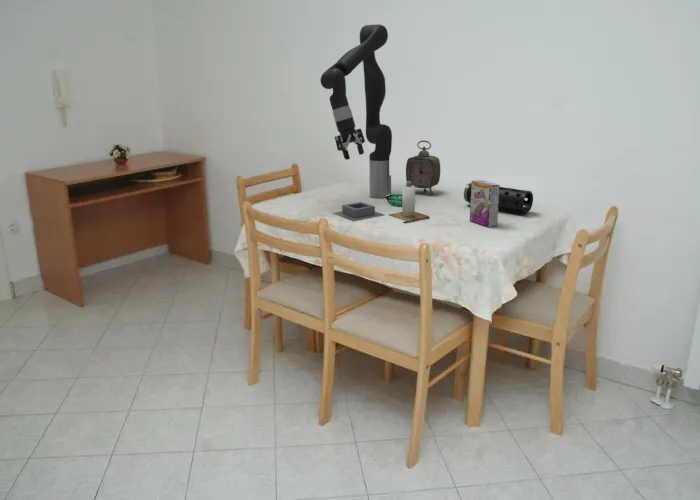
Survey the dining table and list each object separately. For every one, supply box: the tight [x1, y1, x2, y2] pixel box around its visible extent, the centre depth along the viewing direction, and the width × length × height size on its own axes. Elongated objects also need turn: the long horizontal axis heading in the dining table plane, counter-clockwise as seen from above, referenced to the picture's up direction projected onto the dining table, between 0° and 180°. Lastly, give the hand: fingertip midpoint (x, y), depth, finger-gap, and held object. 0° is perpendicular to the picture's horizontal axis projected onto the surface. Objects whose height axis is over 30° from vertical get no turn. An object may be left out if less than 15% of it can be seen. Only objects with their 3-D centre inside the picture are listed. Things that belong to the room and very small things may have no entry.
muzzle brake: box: [463, 182, 534, 216], centre depth 248 cm, size 10×28×10 cm, turn 47°
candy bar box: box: [469, 179, 501, 228], centre depth 228 cm, size 11×5×16 cm, turn 29°
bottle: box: [401, 180, 416, 217], centre depth 238 cm, size 5×5×14 cm
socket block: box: [332, 201, 385, 222], centre depth 243 cm, size 16×16×4 cm
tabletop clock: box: [405, 140, 441, 197], centre depth 277 cm, size 14×9×25 cm, turn 58°
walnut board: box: [388, 211, 430, 224], centre depth 240 cm, size 12×12×1 cm
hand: (354, 156), depth 246 cm, fingers open, 8 cm apart
